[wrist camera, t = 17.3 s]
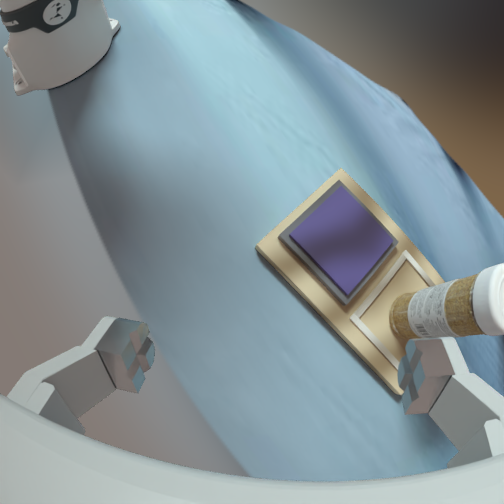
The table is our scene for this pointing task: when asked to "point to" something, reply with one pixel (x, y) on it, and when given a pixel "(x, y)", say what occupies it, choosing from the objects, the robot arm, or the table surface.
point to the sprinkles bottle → (453, 308)
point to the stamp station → (351, 268)
